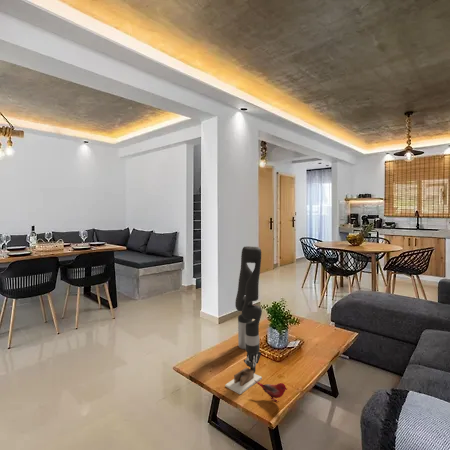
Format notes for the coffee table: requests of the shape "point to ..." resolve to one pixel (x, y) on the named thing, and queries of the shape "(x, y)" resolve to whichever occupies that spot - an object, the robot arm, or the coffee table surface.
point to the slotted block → (246, 378)
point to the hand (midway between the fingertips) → (253, 372)
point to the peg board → (241, 389)
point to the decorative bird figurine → (273, 390)
